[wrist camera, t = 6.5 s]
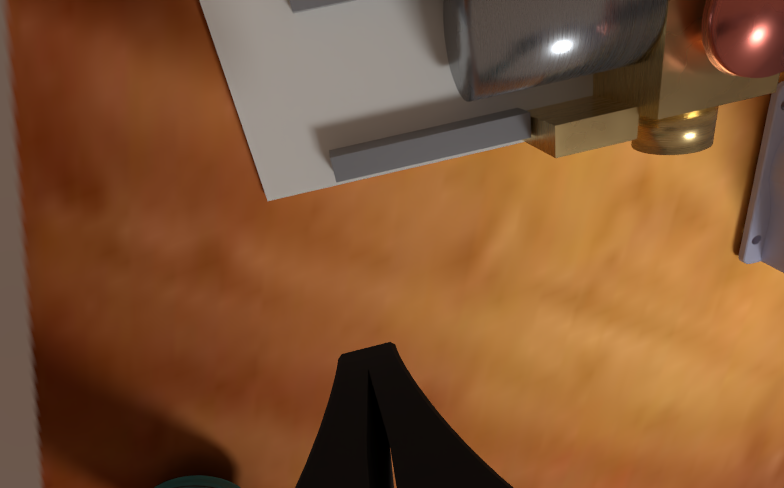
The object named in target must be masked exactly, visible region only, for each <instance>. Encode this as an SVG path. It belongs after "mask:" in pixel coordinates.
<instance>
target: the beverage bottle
mask: <svg viewBox="0 0 784 488" xmlns="http://www.w3.org/2000/svg"><path fill="white" fill-rule="evenodd" d="M154 488H240V487H239V486H237V485H236V484H234V483H232V482H230V481H227V480H224V479H221V478H217V477H211V476H201V475H196V476H184V477H179V478H175V479H172V480H169V481H166V482H164V483H162V484H160V485H158V486H156V487H154Z"/></svg>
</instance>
